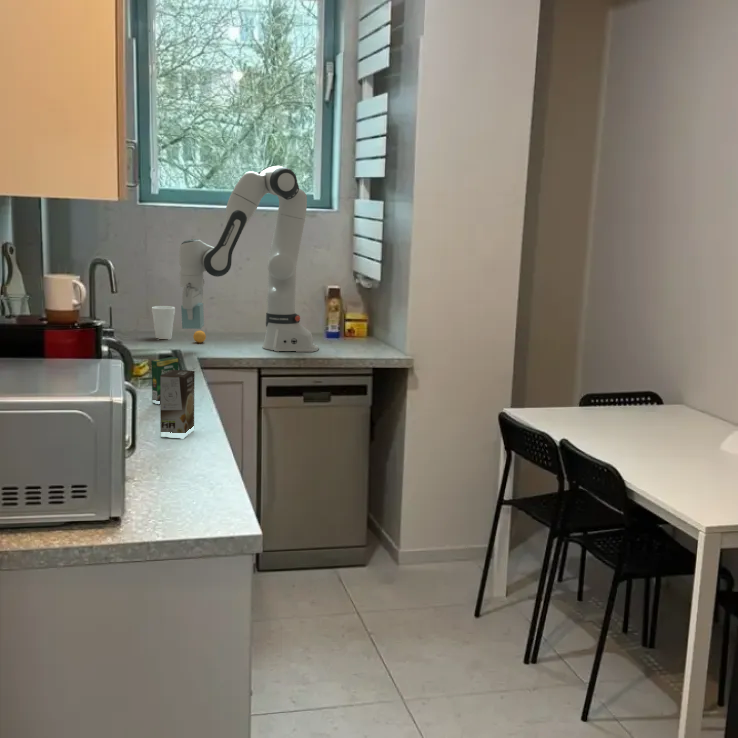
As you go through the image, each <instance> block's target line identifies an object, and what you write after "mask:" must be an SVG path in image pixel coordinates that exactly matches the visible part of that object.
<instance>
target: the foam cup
mask: <svg viewBox="0 0 738 738" xmlns="http://www.w3.org/2000/svg"><path fill="white" fill-rule="evenodd" d="M151 314H152V321H153V327H154V334H155V339H156V338H159V339H168V340H171V339H172V336H173V329H174V322H175V321H174V320H175V314H176V307H175V306H169V305H155V306H152V307H151ZM159 339H158V340H159Z"/></svg>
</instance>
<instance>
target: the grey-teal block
mask: <svg viewBox="0 0 738 738" xmlns="http://www.w3.org/2000/svg"><path fill="white" fill-rule="evenodd" d="M180 311H181V329H186V330H188V329H190V330H191V329H194V330H195V329H196V330H199V329H202V328H203V327H204V326H205V314H204V313H205V312H204V303H203V302H202V303H198V304H197V305H196V306H195V307H194V308H193V319H192V320H189V319H188V314H187V309H183V305H181V310H180Z"/></svg>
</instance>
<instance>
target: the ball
mask: <svg viewBox="0 0 738 738" xmlns="http://www.w3.org/2000/svg"><path fill="white" fill-rule="evenodd" d="M192 337H193V340H194V342H196V343H200V344H201V343H203V342H205V340H206V338H207V335H206V332H205V331H203V330H196V331H194V333H193V335H192Z"/></svg>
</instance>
